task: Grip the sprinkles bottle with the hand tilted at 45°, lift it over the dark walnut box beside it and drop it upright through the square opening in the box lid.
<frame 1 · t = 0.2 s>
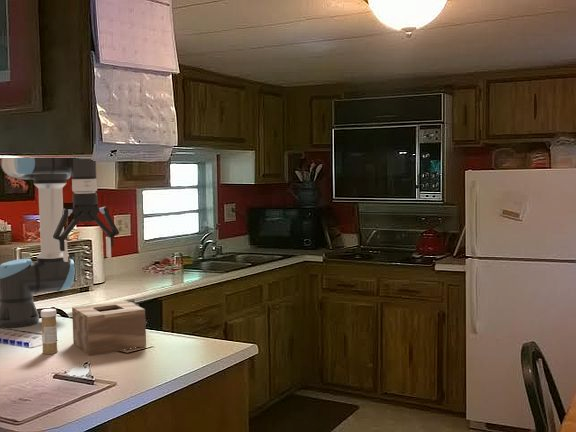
hand: (87, 259, 219), 28 cm above the countertop, tool pointing down, fingers open, 13 cm apart
walnut drop box: (109, 345, 221), on the countertop
food container: (128, 331, 241), on the countertop
sprinkles bottle: (50, 353, 213), on the countertop
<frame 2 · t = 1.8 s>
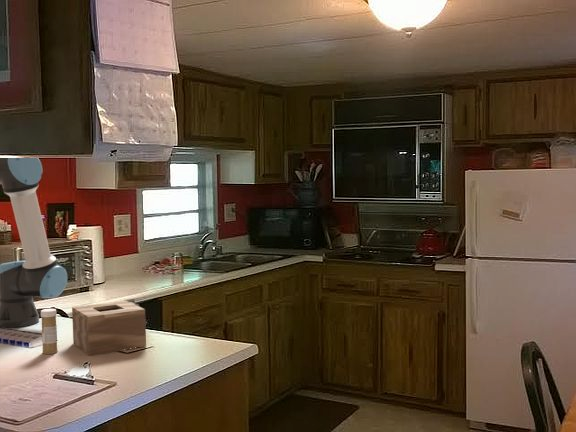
nothing on the countertop moved.
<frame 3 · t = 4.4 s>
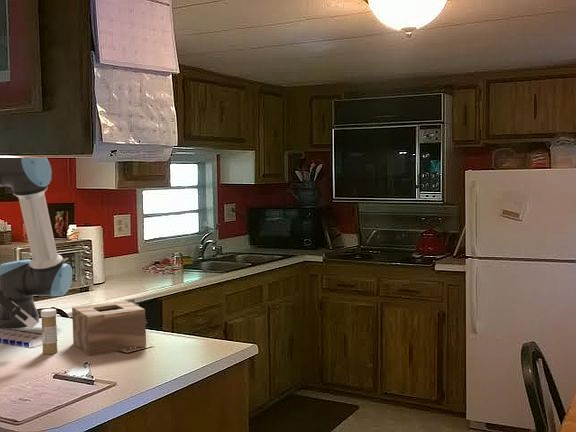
hand: (29, 321, 208), 11 cm above the countertop, tool tilted 45°, fingers open, 13 cm apart
nothing on the countertop moved.
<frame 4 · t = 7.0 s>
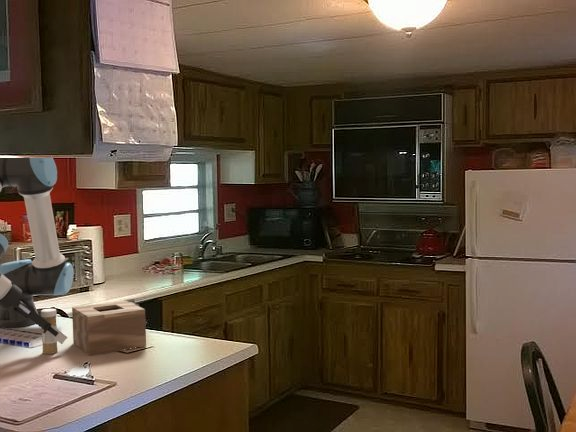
hand: (62, 338, 215), 4 cm above the countertop, tool tilted 45°, fingers closed on sprinkles bottle, 4 cm apart
sprinkles bottle: (50, 353, 213), on the countertop, touching gripper
everything else where it was.
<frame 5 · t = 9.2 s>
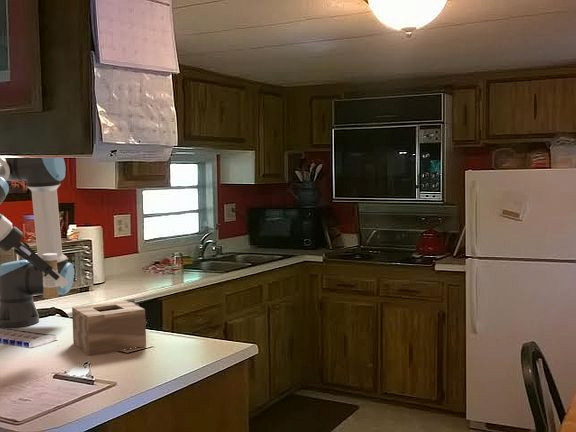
hand: (63, 283, 214), 21 cm above the countertop, tool tilted 45°, fingers closed on sprinkles bottle, 4 cm apart
sprinkles bottle: (51, 297, 212), point 17 cm above the countertop, touching gripper
everything else where it was.
when the fingers open (17 cm above the countertop, at t = 11.6 s): sprinkles bottle drops 13 cm, resting in walnut drop box.
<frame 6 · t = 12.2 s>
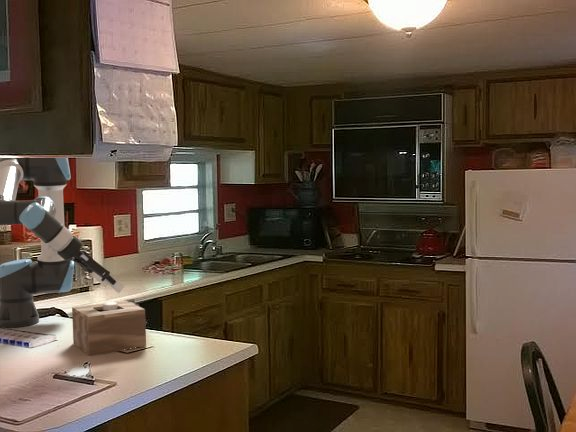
hand: (114, 286, 221), 19 cm above the countertop, tool tilted 45°, fingers open, 13 cm apart
sprinkles bottle: (109, 344, 222), resting in walnut drop box
everything else where it was.
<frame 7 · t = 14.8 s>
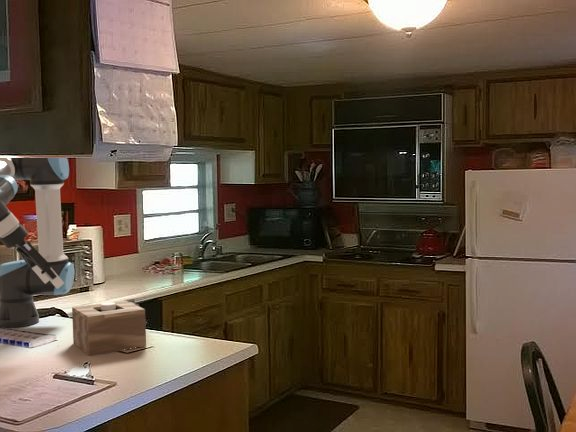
hand: (54, 283, 214), 21 cm above the countertop, tool tilted 35°, fingers open, 13 cm apart
nothing on the countertop moved.
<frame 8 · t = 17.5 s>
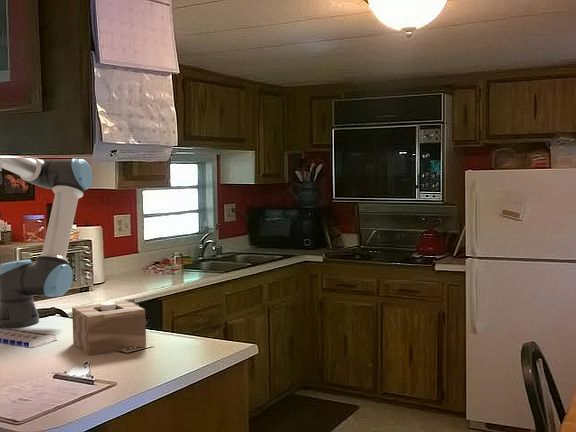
nothing on the countertop moved.
at the end: sprinkles bottle inside the target area on the walnut drop box (0.7 cm from its centre), point 0.0 cm above the walnut drop box's base; the gripper is holding nothing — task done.
